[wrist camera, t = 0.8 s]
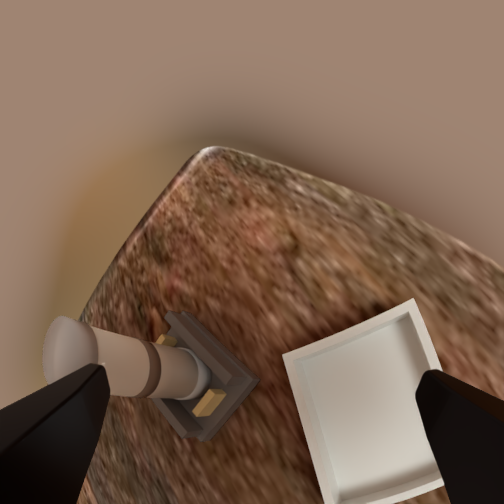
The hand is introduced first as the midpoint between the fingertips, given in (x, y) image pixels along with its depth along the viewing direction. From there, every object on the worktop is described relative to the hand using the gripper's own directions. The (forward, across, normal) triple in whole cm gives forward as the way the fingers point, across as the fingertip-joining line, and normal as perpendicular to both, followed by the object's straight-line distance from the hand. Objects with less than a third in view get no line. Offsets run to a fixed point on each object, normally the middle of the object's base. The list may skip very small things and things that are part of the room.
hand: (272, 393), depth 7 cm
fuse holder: (+14, +4, +11) cm, 19 cm away
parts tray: (+7, -9, +9) cm, 14 cm away
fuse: (+14, +4, +11) cm, 18 cm away
